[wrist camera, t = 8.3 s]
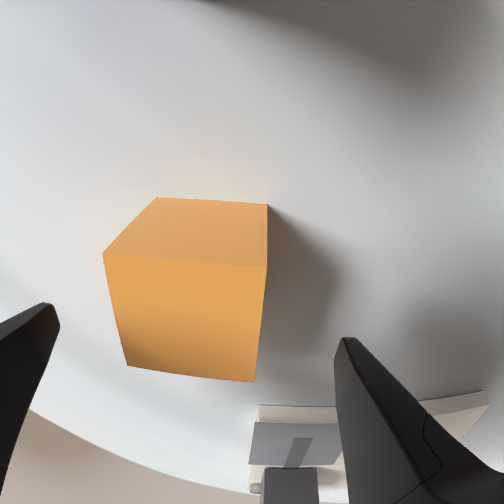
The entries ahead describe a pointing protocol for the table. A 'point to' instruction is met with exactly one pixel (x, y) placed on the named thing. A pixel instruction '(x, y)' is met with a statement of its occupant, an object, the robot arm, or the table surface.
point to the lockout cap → (191, 287)
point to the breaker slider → (289, 486)
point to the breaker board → (334, 437)
